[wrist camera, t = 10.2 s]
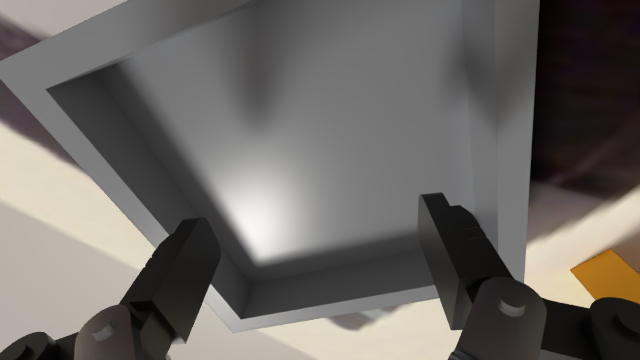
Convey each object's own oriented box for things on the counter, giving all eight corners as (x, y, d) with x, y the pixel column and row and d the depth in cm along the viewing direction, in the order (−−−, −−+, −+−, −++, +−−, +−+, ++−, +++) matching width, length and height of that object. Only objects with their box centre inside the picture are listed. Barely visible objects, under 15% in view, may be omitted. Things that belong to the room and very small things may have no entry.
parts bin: (491, 235, 18) (523, 283, 15) (246, 285, 21) (232, 332, 18) (480, -140, 9) (551, -202, 6) (68, 49, 13) (-11, 66, 10)
